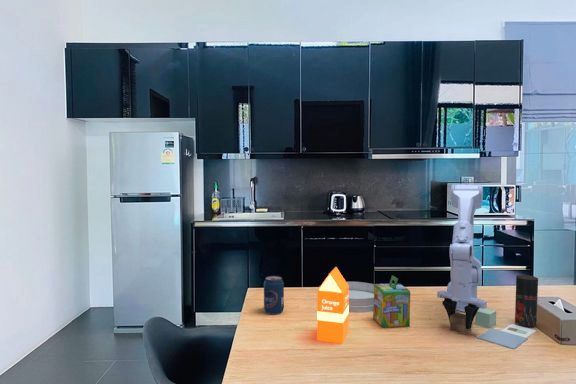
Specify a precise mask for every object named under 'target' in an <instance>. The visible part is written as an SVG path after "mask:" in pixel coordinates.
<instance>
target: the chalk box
mask: <svg viewBox="0 0 576 384" xmlns="http://www.w3.org/2000/svg"><path fill="white" fill-rule="evenodd" d="M398 280H399V278H397V277H396V276H394V275H391V277H390V280H389V283H375V284H374V283H373V284H374V307H373V311H372V317H373V318H374V320H375V321H376V322H377V323H378V324H379V325H380V326H381V327H382V329H383V328H396V327H397V328H399V327H400V328H401V327H403V328H404V327H410V324H411V323H410V322H411V321H410V320H411V318H410V317H411V316H410V314H411V291H410V290H409V289H408V287H405V286H404V285H403V284H401V283H398ZM393 281H394V283H393Z"/></svg>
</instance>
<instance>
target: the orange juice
mask: <svg viewBox="0 0 576 384" xmlns="http://www.w3.org/2000/svg"><path fill="white" fill-rule="evenodd" d="M347 282H348V281H346V279H345V278H344V277H343V275H342V274H341V272H340V270H339V269H338V266H335V267H334V268H333V269H332V270H331V271H330V272H329V273H328V275H327V277H326V278H325V279H324V281H323V282H322V284H321V285H319V288H318V289H317V290H316V292H317V293H316V296H317V297H316V301H317V302H316V303H317V304H316V306H317V307H316V309H317V310H316V321H317V325H316V326H317V327H316V332H317V334H316V337H317V341H321V342H326V343H327V342H328V343H335V344H344V343H345V340H346V339H347V336H348V334H349V331H350V330H349V328H350V326H349V322H350V320H349V319H350V318H349V315H350V314H349V313H350V312H349V285H348V284H347Z"/></svg>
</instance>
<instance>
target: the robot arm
mask: <svg viewBox="0 0 576 384" xmlns="http://www.w3.org/2000/svg"><path fill="white" fill-rule="evenodd" d="M483 194H484V186H483V185H482V184H455V183H453V184H452V185H451V187H450V200H451V203H452V206H453V207H454V208H455V209H457V217H458V218H457V219H458V221H457V222H456V223H455V224H454V225H453V231H452V232H453V233H452V241H451V242H452V243H450V245H449V260H450V281H449V282H448V284H447V287H446V290H437V291H436V298H438V299H443V301H442V305H443V308H444V309H445V311H446V314H447V318H448V320H449V323H450V315H453V314H455V313H457V311H459V312H463V313H464V314H465V315H466V329H470V328H471V329H472V328H473V327H472V326H473V323H474V321H475V315H476V313H477V311H478V310H479V309H480V308H482V309H484V308H486V309H487V308H488V307H487V302H488V301H487V300H483V299H481V298H478V285H480V284H482V269H483V268H482V263H481V260H479V259H478V258H477V257H475V253H474V252H475V249H474V248H475V247H474V226H475V225H474V224H475V221H474V219H475V213H476V211H477V210H478V209H481V208H482V205H483V198H484V195H483Z"/></svg>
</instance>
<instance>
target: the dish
mask: <svg viewBox="0 0 576 384" xmlns="http://www.w3.org/2000/svg"><path fill="white" fill-rule="evenodd" d="M346 282H347V284H348V285H349V313H370V312H373V307H374V283H370V282H369V283H368V282H363V281H362V282H361V281H346Z"/></svg>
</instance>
